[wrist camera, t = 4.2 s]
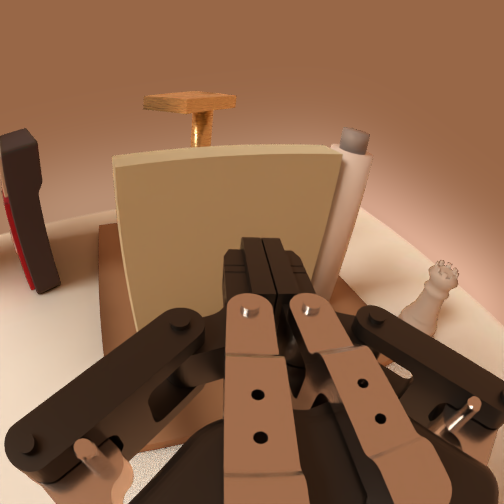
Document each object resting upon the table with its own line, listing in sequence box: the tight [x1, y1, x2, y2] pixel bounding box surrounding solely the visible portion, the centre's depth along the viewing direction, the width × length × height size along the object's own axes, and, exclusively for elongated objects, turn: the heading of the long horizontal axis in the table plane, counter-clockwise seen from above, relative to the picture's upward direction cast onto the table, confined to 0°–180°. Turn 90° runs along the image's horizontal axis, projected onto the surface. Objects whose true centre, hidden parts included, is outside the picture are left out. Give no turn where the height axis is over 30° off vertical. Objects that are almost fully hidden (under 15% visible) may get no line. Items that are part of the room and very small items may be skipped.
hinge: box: [112, 127, 373, 332], centre depth 21 cm, size 18×3×16 cm, turn 118°
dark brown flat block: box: [0, 128, 61, 294], centre depth 25 cm, size 11×4×15 cm, turn 46°
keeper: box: [144, 91, 236, 148], centre depth 29 cm, size 7×5×18 cm
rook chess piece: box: [398, 260, 459, 337], centre depth 25 cm, size 4×4×8 cm
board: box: [99, 223, 394, 452], centre depth 30 cm, size 24×28×1 cm
